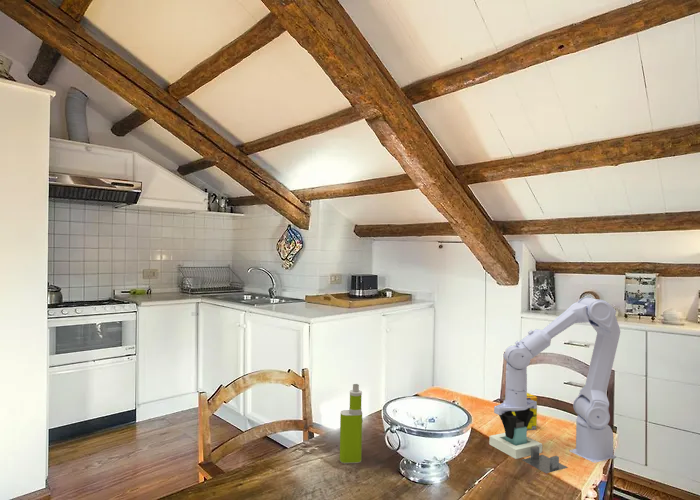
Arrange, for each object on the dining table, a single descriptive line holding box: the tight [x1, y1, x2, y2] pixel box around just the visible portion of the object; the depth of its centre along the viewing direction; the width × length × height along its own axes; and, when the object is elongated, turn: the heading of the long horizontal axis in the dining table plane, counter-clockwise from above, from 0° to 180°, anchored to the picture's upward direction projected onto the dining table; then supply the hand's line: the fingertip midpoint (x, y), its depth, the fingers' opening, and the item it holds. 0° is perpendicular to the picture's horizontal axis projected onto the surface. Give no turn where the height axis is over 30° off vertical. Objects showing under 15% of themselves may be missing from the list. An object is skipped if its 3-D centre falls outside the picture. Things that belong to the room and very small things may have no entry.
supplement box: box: [512, 392, 538, 431], centre depth 141 cm, size 6×6×11 cm
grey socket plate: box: [521, 446, 569, 474], centre depth 115 cm, size 8×8×4 cm
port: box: [488, 432, 543, 460], centre depth 124 cm, size 10×10×3 cm
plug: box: [505, 419, 528, 446], centre depth 124 cm, size 4×4×7 cm
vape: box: [339, 383, 363, 464], centre depth 116 cm, size 4×6×20 cm, turn 98°
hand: (515, 436), depth 124 cm, fingers closed on plug, 4 cm apart
